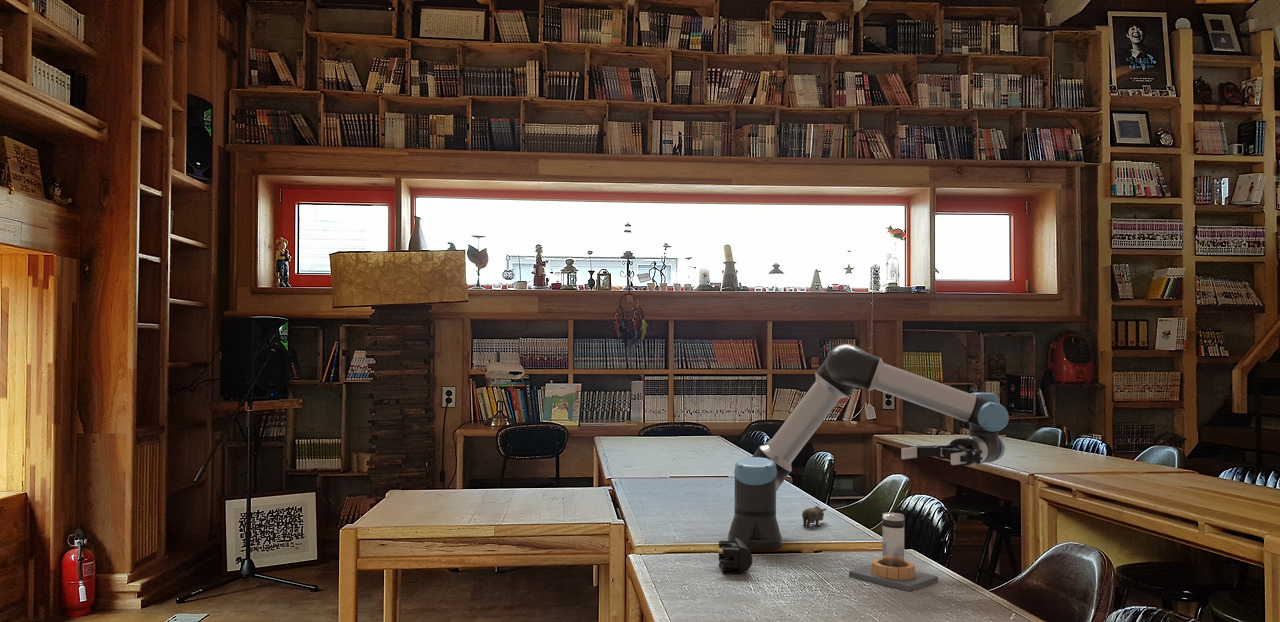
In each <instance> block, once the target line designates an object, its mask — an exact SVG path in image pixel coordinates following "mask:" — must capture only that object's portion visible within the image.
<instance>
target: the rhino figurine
mask: <svg viewBox="0 0 1280 622" xmlns="http://www.w3.org/2000/svg"><path fill="white" fill-rule="evenodd" d="M826 510H827V508H821V507H820V506H819V505H815V506H813V507H809V508H805V509H803V511H802V521H803V525H802V527H803V526H807V528H810V527H811V526H810V525H811V523H815V526H816V525H818V524H819V522H820V521H823V520H824V517H825V511H826ZM819 525H820V524H819Z"/></svg>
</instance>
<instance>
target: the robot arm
mask: <svg viewBox="0 0 1280 622" xmlns="http://www.w3.org/2000/svg"><path fill="white" fill-rule="evenodd" d="M814 375H815V381H814V383H813V384H812V385H811V387H810V388H809V390H808V391H807V392H806V393H805V395H804V396H803V397H802V398H801V400H800V402H799V403H798V404H797V405H796V407H794V409H793V411H792V412H791V413H790V414H789V416H788V417H787V419H786V420H785V421H784V422H783V423H782V425H781V426H780V427H779V429H778V430H777V432H776V433H775V434H774V435H773V436H772V438H771V440H770V441H769V442H768V444H763V445H760V446H759V447H758V448H757V449H756V451H755V452H754V454H753V455H752V456H751V457H748V456H747V457H745V458H741V459H739V460H737V461H736V462H735V465H734V471H733V474H734V475H733V476H734V506H733V507H734V515H733V519H732V521H731V524H730V527H729V532H728V533H727V541H735V538H738V539H740V540H742V541H743V542H744V543H745V545H746V546H747V548H748V550H752V551H753V550H754V551H757V550H759V551H766V550H768V551H769V550H774V549H779V548H781V547H782V546H783V537H782V534H781V531H780V527H779V523H778V520H777V491H778V490H779V489H780V487H781V485H782V484H783V482H784V481H785V480H786V479H787V478H788V476H789V475H790V474H791V472H792V471H793V468H792V463H793V461H794V460H795V458H796V457H797V456H798V454H799V453H800V452H801V451H802V449H803V448H804V446H805V445H806V444H807V443H808V441H809V440H810V439H811V437H812V436H813V435H814V433H815V432H816V431H817V430H818V428H819V427H820V425H821V424H822V423H823V422H824V420H825V419H826V417H827V416H828V415H829V414H830V413H831V411H832V410H833V409H834V407H835V406H836V405H837V404H838V402H839V401H840V400H841V399H844V398H845V399H846V398H849V397H850V395H851V394H852V393H853V391H854V390H855V388H859V389H862V390H865V391H868V392H870V391H873V390H877V391H879V392H882V393H884V394H887V395H891V396H893V397H895V398H899V399H901V400H903V401H907V402H910V403H913V404H915V405H918V406H921V407H923V408H927V409H930V410H932V411H935V412H938V413H940V414H943V415H946V416H949V417H951V418H954V419H957V420H960V421H962V422H966V423H968V424H969V434H968V436H963V437H957V438H954V439H952V440H951V441H950V442H949V444H946V445H943V444H942V445H939V444H938V445H937V444H934V445H933V444H932V445H906V447H904V448H903V447H901V449H900V450H901V451H900V453H901V455H900V458H901V460H907V459H909V460H910V459H911V460H915V459H917V458H918V457H919V458H920V457H923V458H925V457H926V458H928V457H930V458H931V457H933V458H935V457H936V459H939V460H948V461H950V465H952V466H959V467H967V466H970V467H975V465H979V464H983V463H985V464H986V463H987V464H988V463H993V462H995V461H998V460H1000V459H1001V458H1002V457H1003V456H1004V453H1005V450H1006V447H1005V443H1004V442H1003V440H1002V438H1000V437H999V431H1001V430H1003V429H1004V428H1006V426H1007V425H1008V423H1009V421H1010V420H1009V419H1010V418H1009V417H1010V416H1009V415H1010V414H1009V412H1008V410H1007V408H1006V407H1005V406H1004V405H1002V404H1001V403H999V397H998V396H999V395H998V394H997V393H994V392H971V393H969V392H967V391H964V390H960V389H957V388H955V387H952V386H950V385H947V384H944V383H940V382H938V381H936V380H932V379H929V378H927V377H925V376H921V375H918V374H915V373H912V372H910V371H907V370H904V369H901V368H898V367H896V366H893V365H890V364H887V363H885V362H884V360H883V359H882V357H878V356H876V355H873V354H871V353H870V352H869V353H868V352H867V351H865V350H863V349H861V348H860V347H858V346H857V345H854V344H852V343H844V344H840V345H837V346H835V347H833V348H832V349H831V351H829V353H828V355H827V357H826V359H825V360H824V361H823V362H822V364H821V365H820V366H819V367H818V369H817V370H816V372H815V373H814Z"/></svg>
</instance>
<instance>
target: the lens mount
mask: <svg viewBox="0 0 1280 622" xmlns="http://www.w3.org/2000/svg"><path fill="white" fill-rule="evenodd" d="M915 566H916V564H915V563H913V562H911V561H909V560H906V559H904V567H890V566H885V565H882V557H881V558H880V557H878V558H875V559H872V560H871V564H869V565H866V566H863V567H859V568H855V569H853V570H851V569H850V570H849V571H848V577H850V578H855V579H859V580H863V581H866V582H869V583H874V584H879V585H882V586H886V587H890V588H894V589H897V590H902V591H905V590H906V592H912V591H915V590H917V589H920V588H923V587H927V586H930V585H933V584H935V583H938V582H939V576H937V575H933V574H929V573H924V572H920V571H916V567H915Z"/></svg>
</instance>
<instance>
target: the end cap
mask: <svg viewBox="0 0 1280 622" xmlns="http://www.w3.org/2000/svg"><path fill="white" fill-rule="evenodd" d="M718 549H721V550H722V552H718V561H719V562H718V566H719V569H720V571H721V574H722V575H728V576H729V575H731V576H733V575H734V576H741V575H743V574H745V572H747V571H748V570H750V568H751V567H752V564H753V556H752V553H751V551H750V549H748V548H747V546H746V545H745V543H744V542H743V541H742V540H740V539H738V538H735V541H728V540H719V541H718Z"/></svg>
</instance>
